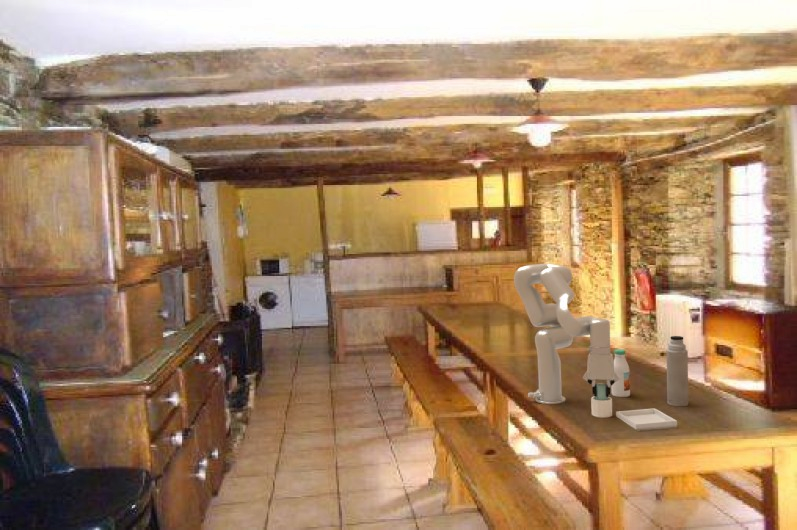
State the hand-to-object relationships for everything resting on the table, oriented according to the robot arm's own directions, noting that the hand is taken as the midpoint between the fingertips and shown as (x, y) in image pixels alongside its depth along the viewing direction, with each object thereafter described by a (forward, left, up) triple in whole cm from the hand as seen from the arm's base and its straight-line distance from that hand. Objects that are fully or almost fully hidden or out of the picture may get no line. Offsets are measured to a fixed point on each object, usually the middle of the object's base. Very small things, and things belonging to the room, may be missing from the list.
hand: (601, 395), depth 254 cm
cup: (0, 0, -8) cm, 8 cm away
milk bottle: (+20, +25, -8) cm, 33 cm away
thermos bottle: (+36, +7, -8) cm, 38 cm away
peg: (0, 0, -7) cm, 7 cm away
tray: (+12, -12, -8) cm, 19 cm away
